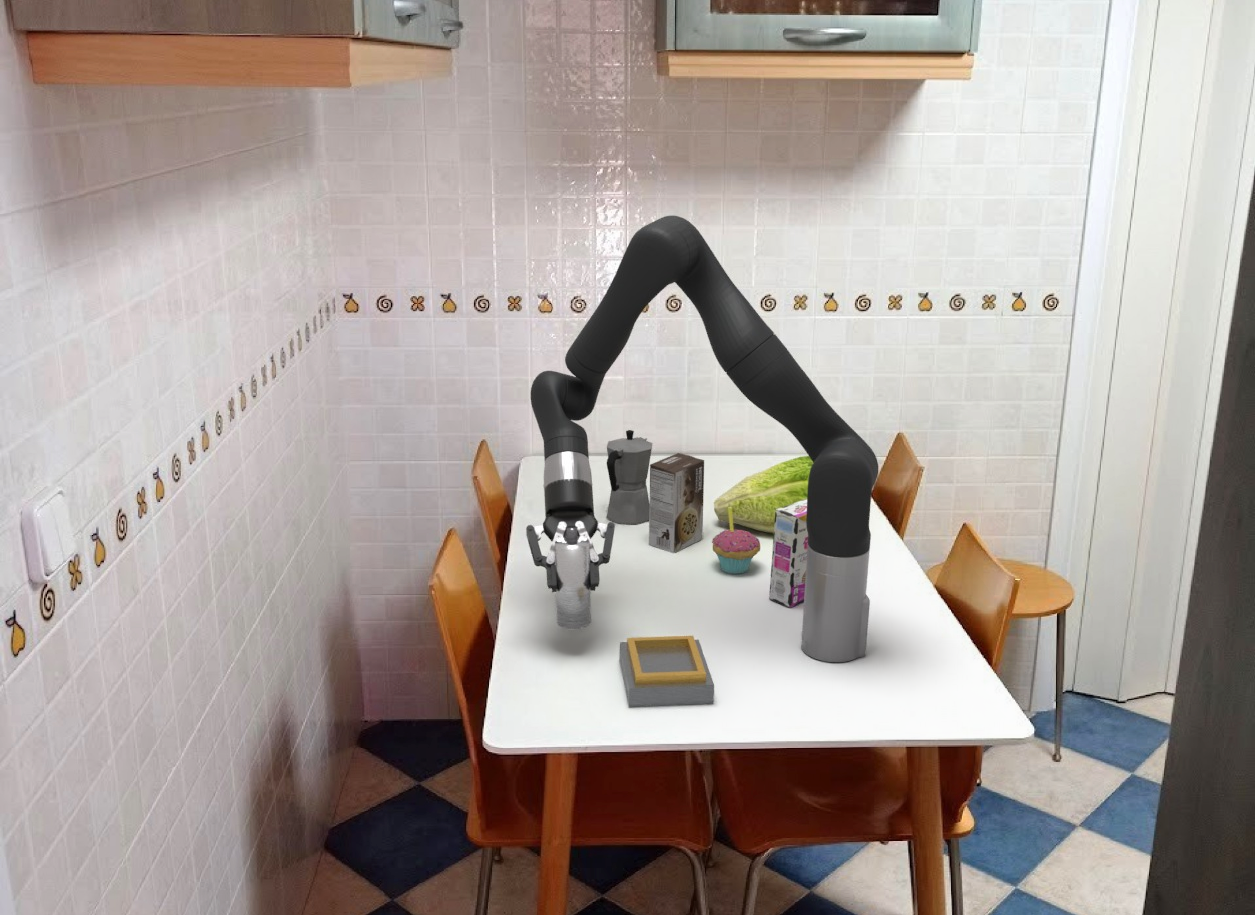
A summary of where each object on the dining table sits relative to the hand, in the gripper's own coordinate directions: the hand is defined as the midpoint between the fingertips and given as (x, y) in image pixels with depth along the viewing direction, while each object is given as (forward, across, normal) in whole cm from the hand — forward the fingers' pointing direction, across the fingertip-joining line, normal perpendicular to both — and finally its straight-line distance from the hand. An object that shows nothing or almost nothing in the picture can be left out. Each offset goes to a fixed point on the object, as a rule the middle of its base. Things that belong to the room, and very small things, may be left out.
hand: (573, 589), depth 180 cm
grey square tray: (+14, +13, +1) cm, 19 cm away
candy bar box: (-5, +40, +22) cm, 45 cm away
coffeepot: (-32, +13, +48) cm, 59 cm away
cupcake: (-14, +30, +30) cm, 45 cm away
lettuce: (-27, +42, +44) cm, 67 cm away
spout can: (+3, 0, +6) cm, 6 cm away
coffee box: (-23, +21, +39) cm, 50 cm away
